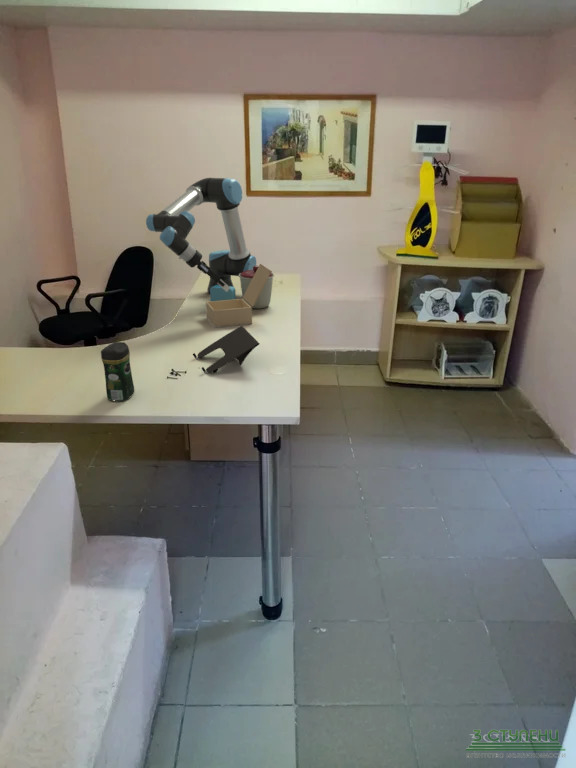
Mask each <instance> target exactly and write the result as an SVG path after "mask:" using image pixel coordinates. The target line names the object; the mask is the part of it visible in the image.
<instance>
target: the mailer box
mask: <svg viewBox="0 0 576 768" xmlns="http://www.w3.org/2000/svg"><path fill="white" fill-rule="evenodd" d="M205 305H206V307H205V308H206V319H207V320H208V321H209V323H210V324H211V325H212V326H213V328H214V329H215V328H223V327H232V326H235V327H236V326H244V325H252V324H253V308H252V307H251V306H250V305H249V304H248V303H246V302H245V301H244V300H243V298H236V299H234V300H223V301H211V300H210V301H206V302H205Z"/></svg>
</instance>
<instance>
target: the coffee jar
mask: <svg viewBox="0 0 576 768" xmlns="http://www.w3.org/2000/svg"><path fill="white" fill-rule="evenodd" d="M100 357H101V362H102V364H103V370H104V379H105V389H106V391H105V393H106V398H107V400H109V399H110V401H111V400H115V401H114V402H116V401H119V402H123V400H125V401H127V400H128V398H129V397H130V396H131V395H132V394H133V395H134V394H135V385H134V380H133V375H132V367H131V360H130V348H129V345H128V344H127V343H125V342H123V341H113V342H112V343H110V344H108V345H107V346H105V347H104V348H103V349H102V350H101V351H100ZM133 395H132V396H133ZM132 396H131V397H132ZM131 397H130V398H131ZM130 398H129V399H130ZM126 399H127V400H126Z"/></svg>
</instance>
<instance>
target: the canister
mask: <svg viewBox="0 0 576 768" xmlns="http://www.w3.org/2000/svg"><path fill="white" fill-rule="evenodd" d="M258 267H259V265H256V266H254V267H253V270H246V271H243V272H242V273H240V274H239V276H238V277H239V281H240V287H241V288H240V289H241V295H242V299H243V300H244V301H245V302H246V303H248V302H247V301H246V300H245V299H244V298H243V296H244V294H245V292H246V290H247V288H248V286H249V284H250V282H251V280H252V278H253V277H254V275H255V273H256V271H257V269H258ZM274 277H275V273H273V272H271V274H270V276H269V278H268V280H267V282H266V284H265V285H264V287H263V289H262V291H261V293H260V295H259V297H258V299H257V301H256V303H255V304H254V306H251V305H250V304H249V303H248V304H249V305H250V306H251V307H252V310H253V309H256V310H257V309H258V310H259V309H260V310H261V309H265V308H267V307H268V306H269V305H270V303H271V301H272V300H271V298H272V291H273V280H274Z"/></svg>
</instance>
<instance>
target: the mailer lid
mask: <svg viewBox="0 0 576 768" xmlns="http://www.w3.org/2000/svg"><path fill="white" fill-rule="evenodd" d="M258 266H259V267H258V269H257V271H256V273H255V275H254V277H253V278H252V280H251V282H250V284H249V286H248V288H247V290H246V292H245V294H244V296H242V299H243V298H244V299H245V300H246V301H247V302H248V303H249V304H250V305H251V306H254V304H255V303H256V301H257V299H258V297H259V295H260V293H261V291H262V289H263V287H264V285H265V284H266V282H267V280H268V278H269V276H270V274H271V273H273V272H272V270H271V269H269V268H268V267H266V266H264V265H263V264H262V263H259V265H258Z"/></svg>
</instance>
